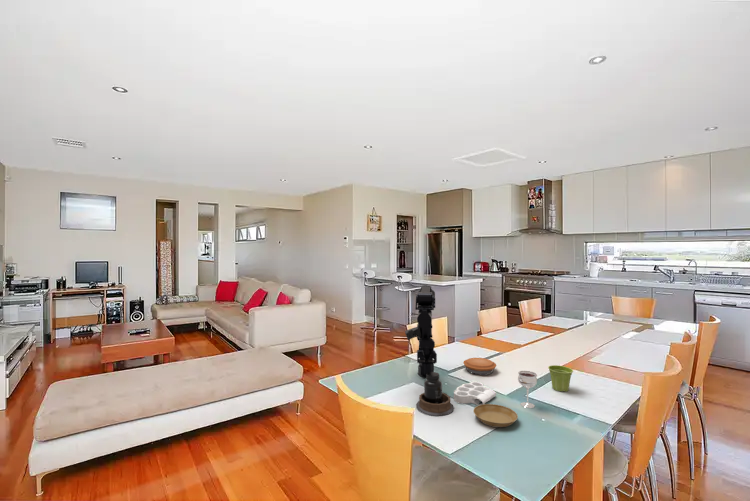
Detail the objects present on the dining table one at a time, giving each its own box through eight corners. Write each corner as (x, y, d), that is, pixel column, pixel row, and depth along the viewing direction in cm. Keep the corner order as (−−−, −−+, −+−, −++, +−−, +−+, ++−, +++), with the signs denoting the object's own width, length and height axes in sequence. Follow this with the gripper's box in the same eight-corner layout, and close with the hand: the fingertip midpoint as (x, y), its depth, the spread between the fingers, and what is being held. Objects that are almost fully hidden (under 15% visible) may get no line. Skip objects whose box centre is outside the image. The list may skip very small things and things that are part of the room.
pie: (500, 376, 167) (500, 366, 167) (467, 376, 168) (467, 366, 167) (490, 365, 183) (490, 355, 183) (460, 365, 183) (460, 355, 183)
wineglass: (535, 410, 133) (535, 378, 132) (516, 406, 136) (516, 374, 136) (538, 403, 138) (538, 372, 138) (519, 399, 142) (519, 369, 142)
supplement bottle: (440, 401, 140) (440, 370, 139) (443, 409, 133) (443, 377, 133) (423, 401, 140) (423, 370, 140) (425, 409, 133) (425, 377, 133)
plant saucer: (465, 420, 126) (465, 412, 126) (486, 407, 137) (486, 400, 137) (505, 435, 116) (505, 427, 116) (525, 420, 126) (525, 413, 126)
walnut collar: (441, 397, 145) (441, 388, 145) (461, 412, 132) (461, 402, 132) (410, 402, 140) (410, 393, 140) (427, 418, 127) (427, 408, 127)
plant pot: (552, 383, 159) (552, 363, 159) (576, 389, 152) (576, 368, 152) (544, 389, 152) (544, 368, 152) (568, 395, 145) (568, 374, 145)
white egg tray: (479, 410, 134) (445, 399, 144) (499, 395, 147) (467, 386, 157) (479, 401, 134) (445, 391, 144) (499, 387, 147) (467, 378, 157)
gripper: (405, 317, 163) (405, 351, 163) (406, 326, 144) (407, 365, 145) (430, 317, 163) (430, 352, 163) (434, 326, 144) (435, 365, 144)
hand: (425, 358), depth 154 cm, fingers open, 9 cm apart
